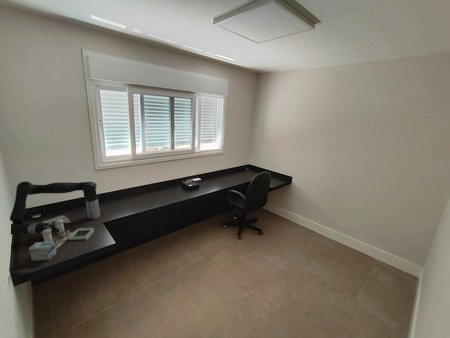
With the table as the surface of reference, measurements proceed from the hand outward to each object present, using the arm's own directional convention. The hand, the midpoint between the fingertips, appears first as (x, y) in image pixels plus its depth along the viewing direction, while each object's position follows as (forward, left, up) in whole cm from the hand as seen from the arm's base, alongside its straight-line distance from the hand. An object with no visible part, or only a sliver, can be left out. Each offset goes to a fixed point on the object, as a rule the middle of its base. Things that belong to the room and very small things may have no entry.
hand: (62, 227), depth 149 cm
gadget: (-21, -18, -10) cm, 29 cm away
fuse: (+13, -2, -8) cm, 15 cm away
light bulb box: (+23, +1, -9) cm, 25 cm away
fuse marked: (0, -2, -8) cm, 8 cm away
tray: (0, +12, -9) cm, 15 cm away
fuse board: (+6, -2, -9) cm, 11 cm away
